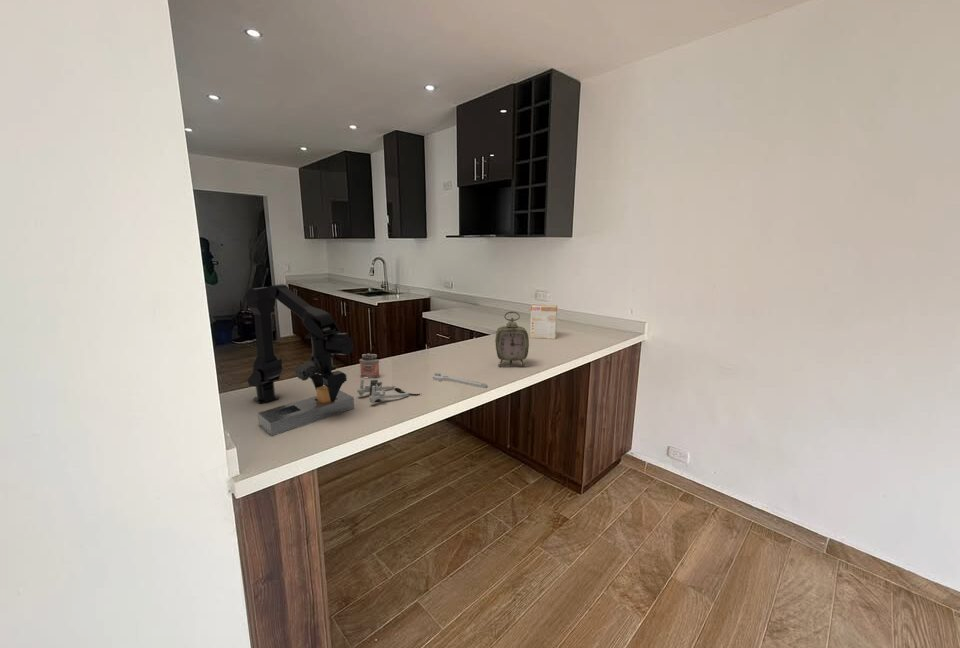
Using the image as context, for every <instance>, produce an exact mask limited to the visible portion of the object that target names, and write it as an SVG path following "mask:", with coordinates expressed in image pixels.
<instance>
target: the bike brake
mask: <svg viewBox="0 0 960 648" xmlns="http://www.w3.org/2000/svg"><path fill="white" fill-rule="evenodd" d="M364 379H365V378H362V379H360V386H359V388H357V389H356V390H357V393H358V395H359V396H360V397H361V396H363V395H364V393H369V402H370V403H371V404H374V403H375V401H376V402H381V401H382V399H383V400H384V399H397V398H404V397H409V396H421V395H420V394H421V393H412V392H411V393H410V392H408V391H406V390H404V389H401V388H399V387H396V385H393V384H391V385H383V382H382V381H380V382H378V381H379V380H378V379H372V380H371V379H370V384H368V383H367V384H366V385H364V382H365V380H364ZM392 389H394V390H395V391H396V392H398V393H386V390H392Z"/></svg>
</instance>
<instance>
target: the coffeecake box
mask: <svg viewBox="0 0 960 648" xmlns="http://www.w3.org/2000/svg"><path fill="white" fill-rule="evenodd" d="M557 324H558V304H538V303H537V304H535V303H533V304H531V305H530V329H529V330H530V332H529V333H530V334H529V337H530V339H545V338H546V339H547V340H556V338H557V330H558V329H557V326H558V325H557Z"/></svg>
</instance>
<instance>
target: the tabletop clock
mask: <svg viewBox="0 0 960 648" xmlns="http://www.w3.org/2000/svg"><path fill="white" fill-rule="evenodd" d="M508 314H516V315H518V317H517V318H515V319H514V318H513V317H511V318H510V319H509V318H506V316H507V315H508ZM520 317H521V315H520V313H519V312H517V311H508V312H505V314H504V319H505V320H507V321H508V322H507V323H506V325H504V326H500V327H498V328H497V329H496V332H495V341H494V342H495V351H496V357H497V359H499V360H500V362H499V363H498V364H497V366H498V367H500V368H501V367H503V365H502V362H503V361H508V363H509V365H512V364H513V362H515V361H520V362H521V367H523V368H525V367H526V363H525V362H523V360H526V359H527V357H528V354H529V347H530V343H529V342H530V340H529V333H528V332H527V330H526V328H525V327H523V326H518V323H517V322H516V321H518V320H520Z"/></svg>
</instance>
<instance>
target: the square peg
mask: <svg viewBox="0 0 960 648" xmlns="http://www.w3.org/2000/svg"><path fill="white" fill-rule="evenodd" d="M316 389H317V391H316V396H317V401H318V402H320V403H321V404H323V403H327V402H330V401H331V400H330V396H329V392H328V388H327V387H326V386H325V385H323V386H322V387H318V388H316ZM316 389H315V390H316Z"/></svg>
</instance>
